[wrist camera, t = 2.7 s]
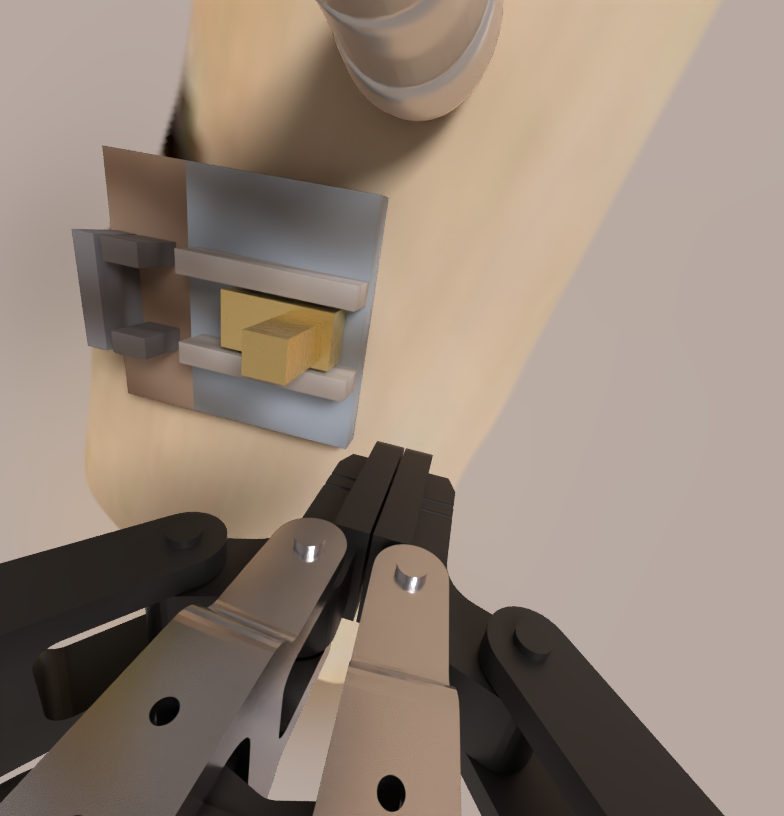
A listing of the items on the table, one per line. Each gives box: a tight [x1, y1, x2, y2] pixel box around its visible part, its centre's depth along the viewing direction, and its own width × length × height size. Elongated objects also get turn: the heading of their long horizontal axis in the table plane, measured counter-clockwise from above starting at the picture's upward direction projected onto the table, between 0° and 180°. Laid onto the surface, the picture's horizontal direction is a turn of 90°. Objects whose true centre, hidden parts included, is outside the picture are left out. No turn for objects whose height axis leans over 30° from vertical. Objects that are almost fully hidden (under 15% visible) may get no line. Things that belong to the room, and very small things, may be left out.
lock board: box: [72, 146, 388, 449], centre depth 23 cm, size 14×15×4 cm
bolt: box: [221, 286, 346, 386], centre depth 20 cm, size 3×6×6 cm, turn 80°
